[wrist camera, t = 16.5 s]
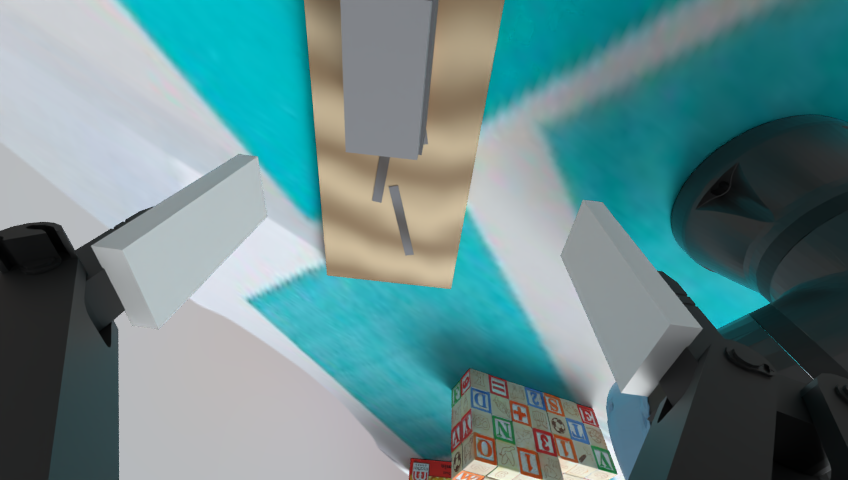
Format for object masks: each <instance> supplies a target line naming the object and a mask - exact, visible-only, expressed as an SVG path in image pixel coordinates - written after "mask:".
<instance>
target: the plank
mask: <svg viewBox="0 0 848 480" xmlns="http://www.w3.org/2000/svg"><path fill="white" fill-rule="evenodd" d="M304 5H305V17H306V29H307V41H308V52H309V64H310V76H311V88H312V100H313V112H314V124H315V136H316V148H317V160H318V172H319V184H320V196H321V208H322V219H323V231H324V243H325V255H326V267H327V275H329V276H338V277H347V278H356V279H365V280H374V281H383V282H392V283H401V284H410V285H420V286H429V287H438V288H447V289H451V286H452V280H453V275H454V270H455V264H456V259H457V253H458V248H459V243H460V237H461V232H462V226H463V221H464V216H465V210H466V205H467V199H468V194H469V189H470V183H471V178H472V173H473V167H474V162H475V156H476V151H477V146H478V140H479V135H480V129H481V124H482V119H483V113H484V108H485V102H486V97H487V92H488V86H489V81H490V75H491V70H492V65H493V59H494V54H495V49H496V43H497V38H498V32H499V27H500V22H501V16H502V11H503V5H504V0H439V4H438V14H437V25H436V35H435V45H434V56H433V66H432V76H431V86H430V97H429V107H428V117H427V127H426V134H425V139H424V145H423V150H422V155H418V158H417V160H411V159H402V158H393V157H384V156H375V155H367V154H358V153H349V152H346V148H345V120H344V91H343V63H342V34H341V6H340V0H304Z"/></svg>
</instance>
